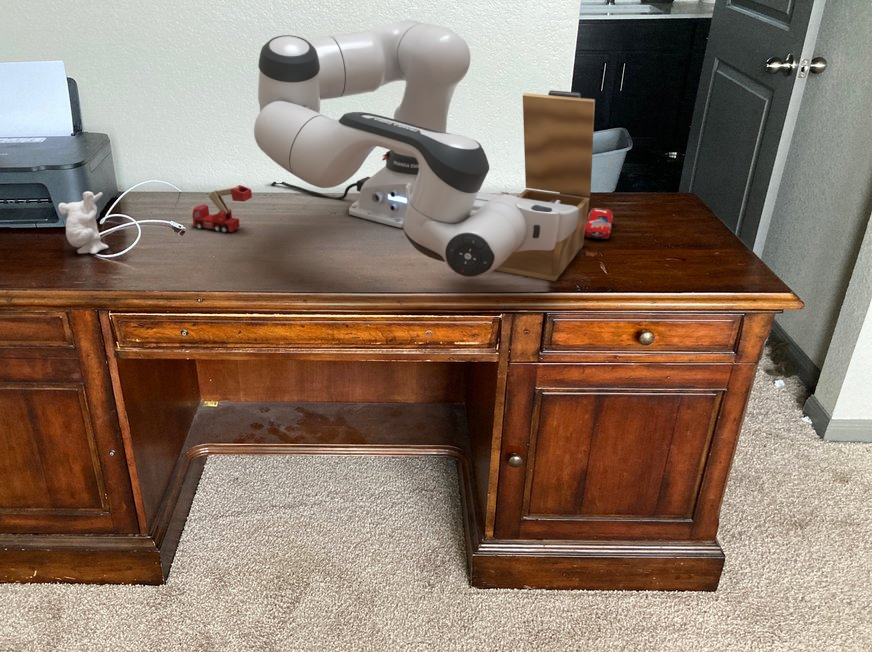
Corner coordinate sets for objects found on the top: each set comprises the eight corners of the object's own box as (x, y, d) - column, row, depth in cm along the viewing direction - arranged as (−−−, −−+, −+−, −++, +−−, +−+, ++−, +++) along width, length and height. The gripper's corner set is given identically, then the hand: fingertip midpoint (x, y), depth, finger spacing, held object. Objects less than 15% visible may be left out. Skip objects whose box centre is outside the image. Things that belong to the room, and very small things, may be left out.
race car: (608, 243, 156) (611, 224, 154) (581, 240, 158) (584, 221, 156) (614, 222, 167) (616, 204, 165) (588, 219, 169) (590, 201, 167)
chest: (555, 281, 140) (562, 229, 135) (488, 269, 145) (492, 218, 140) (582, 246, 155) (589, 197, 150) (521, 235, 160) (526, 188, 155)
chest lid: (593, 101, 134) (601, 85, 137) (522, 95, 139) (531, 80, 142) (589, 196, 150) (596, 180, 152) (525, 187, 155) (533, 172, 157)
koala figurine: (115, 244, 157) (104, 186, 151) (109, 256, 151) (98, 196, 145) (72, 246, 156) (60, 187, 150) (65, 258, 150) (51, 198, 144)
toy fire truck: (199, 223, 168) (194, 179, 163) (255, 231, 163) (251, 186, 158) (191, 228, 165) (185, 183, 160) (247, 236, 161) (243, 190, 156)
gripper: (443, 232, 131) (473, 208, 142) (562, 252, 123) (584, 226, 134) (445, 195, 128) (475, 174, 139) (567, 214, 120) (589, 190, 130)
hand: (529, 200), depth 136 cm, fingers open, 8 cm apart
